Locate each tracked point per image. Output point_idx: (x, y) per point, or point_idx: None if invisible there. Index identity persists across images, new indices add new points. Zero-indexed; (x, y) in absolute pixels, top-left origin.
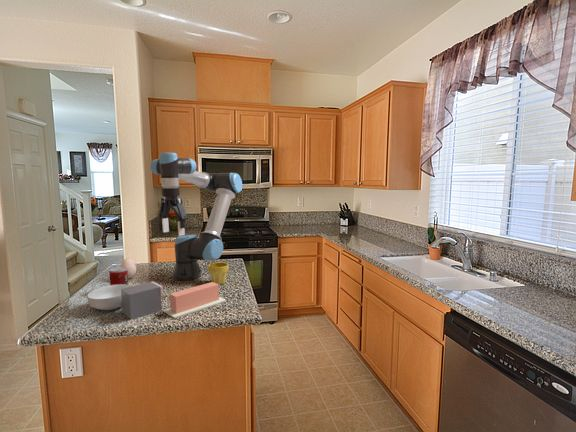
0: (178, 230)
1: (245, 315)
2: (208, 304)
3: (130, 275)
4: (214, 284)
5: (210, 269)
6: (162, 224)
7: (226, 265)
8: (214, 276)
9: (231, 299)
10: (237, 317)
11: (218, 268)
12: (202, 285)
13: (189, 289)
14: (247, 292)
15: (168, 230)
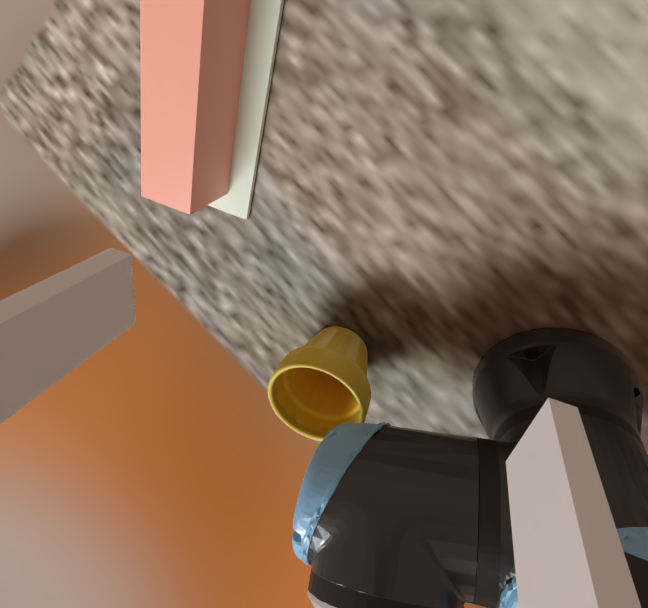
0: (61, 284)
1: (27, 104)
2: None
3: None
4: (154, 187)
5: (325, 358)
6: (612, 540)
7: (301, 421)
8: (320, 341)
9: (167, 210)
10: (29, 74)
11: (282, 365)
12: (183, 148)
13: (183, 59)
14: (175, 290)
15: (509, 471)
